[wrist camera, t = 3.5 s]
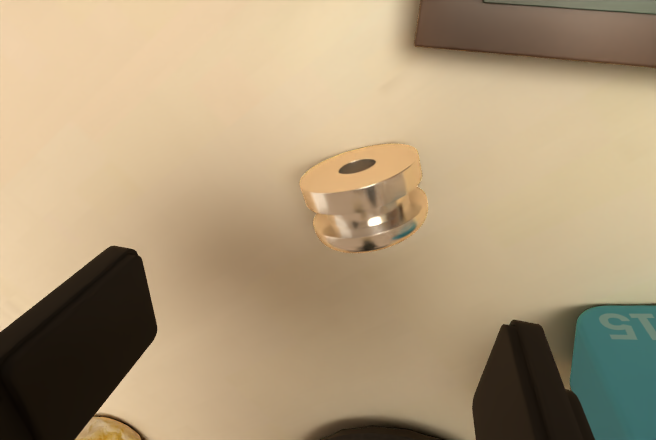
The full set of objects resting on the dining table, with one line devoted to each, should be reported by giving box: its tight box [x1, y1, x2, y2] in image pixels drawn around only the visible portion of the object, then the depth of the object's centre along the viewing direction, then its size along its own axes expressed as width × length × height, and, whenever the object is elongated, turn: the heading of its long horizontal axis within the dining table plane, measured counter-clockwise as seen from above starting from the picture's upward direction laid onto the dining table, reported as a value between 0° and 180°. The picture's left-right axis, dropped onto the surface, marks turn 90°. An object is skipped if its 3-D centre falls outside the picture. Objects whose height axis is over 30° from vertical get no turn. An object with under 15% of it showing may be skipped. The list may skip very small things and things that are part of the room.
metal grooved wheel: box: [299, 144, 428, 253], centre depth 17 cm, size 5×3×5 cm, turn 107°
